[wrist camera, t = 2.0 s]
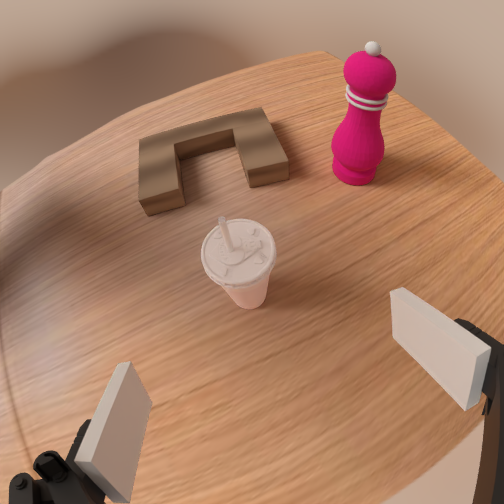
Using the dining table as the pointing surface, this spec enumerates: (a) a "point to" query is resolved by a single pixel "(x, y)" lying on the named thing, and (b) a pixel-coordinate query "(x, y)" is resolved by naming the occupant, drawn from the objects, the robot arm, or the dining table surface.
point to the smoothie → (240, 259)
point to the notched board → (203, 141)
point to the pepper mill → (363, 116)
